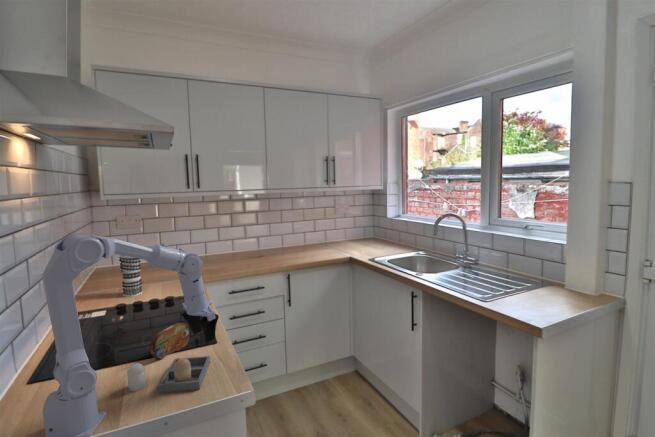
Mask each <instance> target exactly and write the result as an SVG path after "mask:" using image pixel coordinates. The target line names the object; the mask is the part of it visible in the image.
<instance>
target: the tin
mask: <svg viewBox="0 0 655 437" xmlns="http://www.w3.org/2000/svg"><path fill="white" fill-rule="evenodd" d="M191 337H192V330H191V328H190V326H189V324H188V323H186V322H177V323H174V324H172V325H170V326H168V327H166V328H165V329H163V330H161V331H158V332H157V333H156V334H154V335H153V337H152V339H151V340H150V344H149V345H150V346H149V347H150V348H149V351H150V355H151V356H152V357H153V358H155V359H159V360H163V359H165V358H166V357H167V356H169V355H171V354H172V353H174V352H175V351H181V350H183V349H184V348H185V347H186V346H187V345H188V344H189V342H190V339H191Z"/></svg>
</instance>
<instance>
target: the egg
mask: <svg viewBox="0 0 655 437" xmlns="http://www.w3.org/2000/svg"><path fill="white" fill-rule="evenodd" d="M126 372H127V373H126V374H127V377H126V378H127V387H128V391H130V392H138V391H140V390H143V389H144V388H146V386H147V379H146V369H145V365H143V364H142V363H140V362H137V363H134V364H133V363H132V364H131V365H130V366H129V368H128V369H127V371H126Z"/></svg>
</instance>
